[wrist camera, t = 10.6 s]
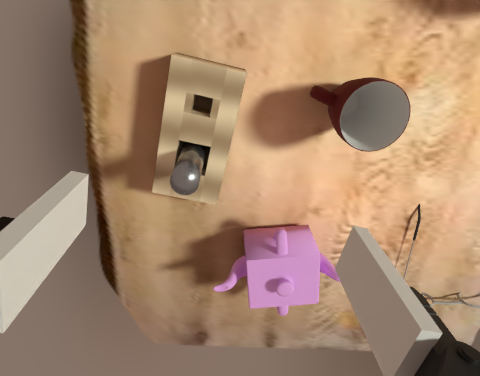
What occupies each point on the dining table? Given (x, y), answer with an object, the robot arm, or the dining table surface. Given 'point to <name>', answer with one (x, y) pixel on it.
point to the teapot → (280, 267)
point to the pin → (188, 169)
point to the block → (198, 121)
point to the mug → (366, 112)
